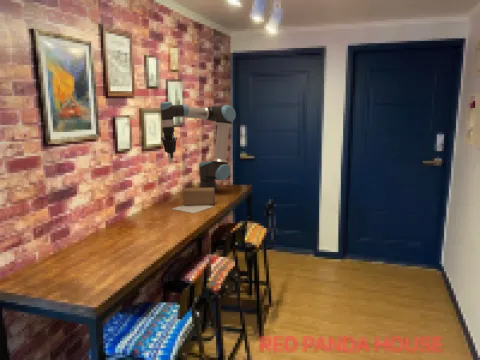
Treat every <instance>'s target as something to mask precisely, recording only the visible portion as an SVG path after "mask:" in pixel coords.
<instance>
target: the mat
mask: <svg viewBox="0 0 480 360" xmlns="http://www.w3.org/2000/svg"><path fill="white" fill-rule="evenodd" d="M214 207H215V206H214V205H184V204H183V205H179V206H176V207H173V208H171V211H172V210H173V211H178V212H183V213H188V214H193V215H194V214H197V213H200V212H202V211H206V210H209V209H212V208H214Z"/></svg>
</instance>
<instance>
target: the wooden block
mask: <svg viewBox="0 0 480 360" xmlns="http://www.w3.org/2000/svg"><path fill="white" fill-rule="evenodd" d="M182 200H183V202H182V203H183V205H209V206H214V204H215V202H216V192H215V188H199V187H186V188H184V189H183V191H182Z"/></svg>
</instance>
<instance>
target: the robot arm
mask: <svg viewBox="0 0 480 360" xmlns="http://www.w3.org/2000/svg"><path fill="white" fill-rule="evenodd" d="M159 107H160V108H159V109H160V116H161V117H160V119H161V127H162V128H161V131H162V134H163V136H162V137H161V138H160V139H161V141H162V145H163V148H164V152H165V153H167V158H168V164H174V153H176V148H177V140H178V137H176V136H175V134H174V133H175V122H174V121H175V120H174V118H183V119H184V118H188V119H200V120H201V119H202V120H203V121H210V122H215V124H216V126H217V127H216V128H217V129H216V138H215V139H216V140H215V150H214V158H213V160H209V161H202V162H201V161H200V163H199V165H198V169H199V185H198V188H215V193H217V192H219V186H218V184H217V181H216V180H218V181H225V180H227V179H228V178H229V177H230V175H231V167H230V166H229V162H228V160H227V154H228V144H229V143H228V142H229V134H230V133H229V131H230V127H231V126H232V124H233V123H232V122H234V121H235V119H236V117H237V116H236V115H237V114H236V113H237V112H236V110H235V109H234V107H232V106H231V105H227V104H224V105H214V106H203V107H190V106H188V105H187V104H173V102H172V101H163V102H160V106H159Z"/></svg>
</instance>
